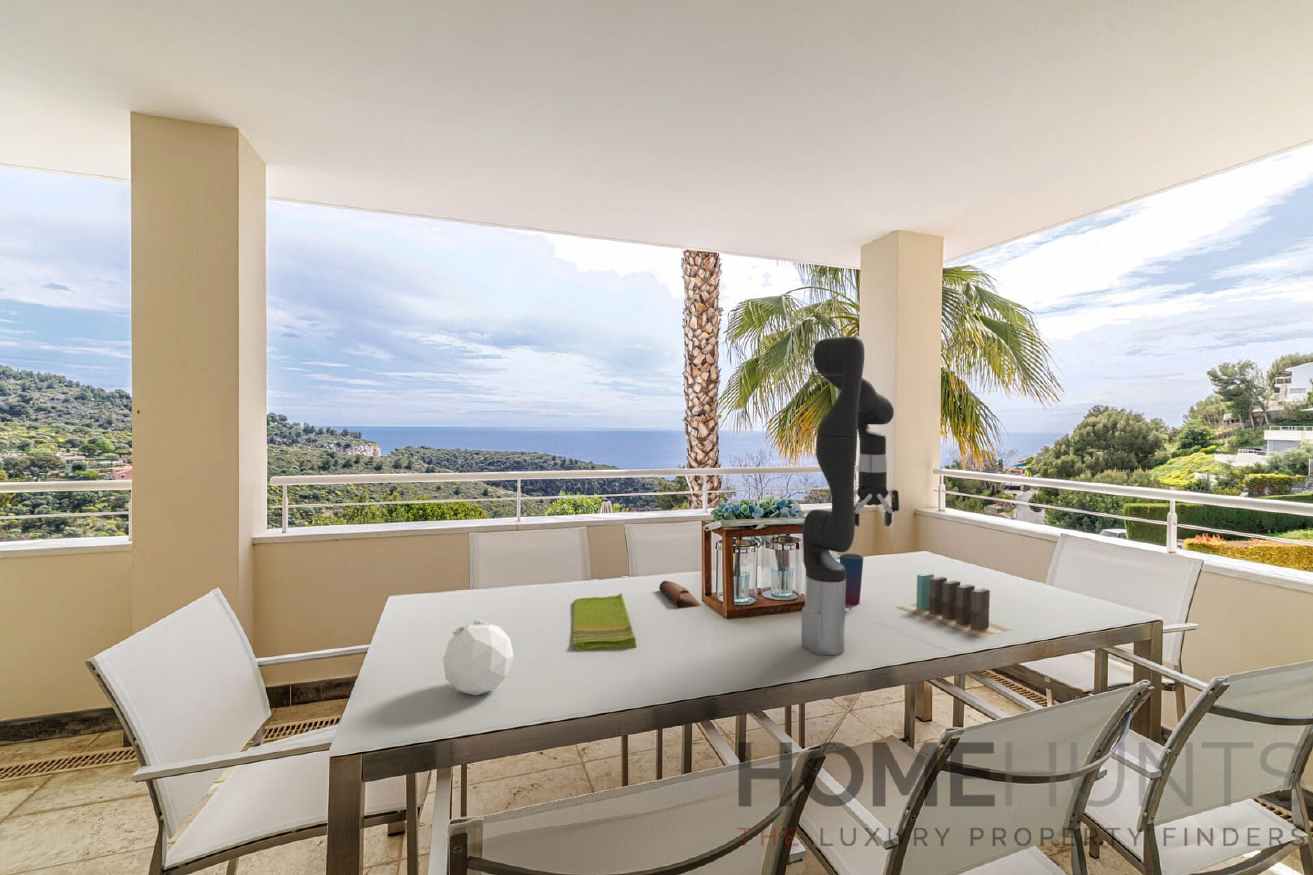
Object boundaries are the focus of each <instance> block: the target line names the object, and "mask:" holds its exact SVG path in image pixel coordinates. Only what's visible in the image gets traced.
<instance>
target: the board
mask: <svg viewBox="0 0 1313 875" xmlns="http://www.w3.org/2000/svg"><path fill="white" fill-rule="evenodd" d="M916 606H917V603H914V604H913V603H912V604H907V605H901V606H897V607H895V608H897V609H899V610H902V611H904V612H907V613H910V614H913V615H915V616H918V617H920V618H924V619H926V620H929V621H931V622H934V623H937V624H940V625H942V626H946V627H948V628H950V629H953V630H955V631H959V632H961V633H963V634H967V635H969V636H971V637H975V638H981V637H985V636H989V635H993V634H998V633H1003V632H1006V631H1011V630H1012V628H1009V627H1006V626H1003V625H1000V624H998V623H994V622H991V621H989V628H984V629H980V630H974V629H971V623H968V624H964V625H960V624H957V623H956V618H954V619H949V620H946V619H944V618H942V614H937V615H932V614H930V613H929V609H926V610H918V609H916Z"/></svg>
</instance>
